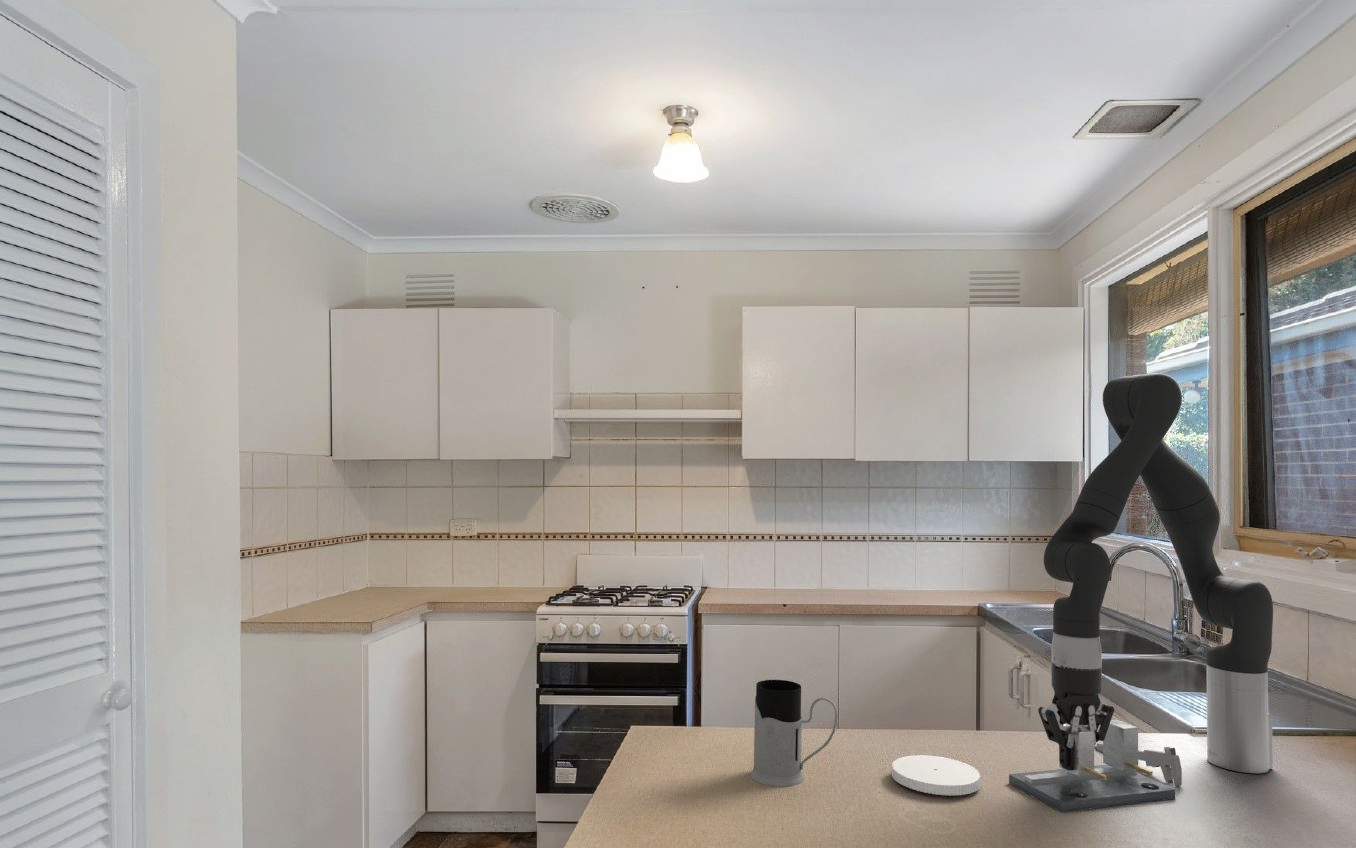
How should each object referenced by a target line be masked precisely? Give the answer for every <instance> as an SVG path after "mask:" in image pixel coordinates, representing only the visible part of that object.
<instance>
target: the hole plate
mask: <svg viewBox="0 0 1356 848" xmlns="http://www.w3.org/2000/svg"><path fill="white" fill-rule="evenodd" d="M1094 770H1095V771H1097V772H1099V773H1102V774H1104V775H1106V776H1107V780H1102V779H1100V778H1098V777H1096V776H1094V775H1089V776H1077V775H1075V774H1073V773H1071V772H1069V771H1067V770H1065V769H1062V768H1059V769H1058V768H1057V769H1050V770H1049V769H1047V770H1037V771H1027V772H1019V773H1017V772H1016V773H1009V774H1008V784H1010V786H1013V787H1015V788H1016V787H1017V788H1016V789H1018V790H1020V791H1022V790H1023V791H1022V792H1024V793H1026V794H1027V795H1029V794H1030V796H1031V797H1033V798H1034V799H1036V800H1039V801H1041V802H1042V803H1044V804H1046V805H1047V806H1049V807H1051V808H1053V809H1055V810H1057V811H1058V812H1060V813H1065V812H1066V811H1067V812H1073V811H1083V810H1084V809H1085V810H1091V809H1090V808H1093V809H1100V808H1099V807H1102V808H1109V807H1116V806H1117V807H1118V806H1126V805H1134V804H1137V805H1138V804H1144V803H1152V802H1161V801H1171V800H1176V789H1175V788H1173V787H1170V786H1168V785H1166V784H1164V783H1161V782H1160V781H1157V780H1155V779H1153V778H1150V777H1148V776H1145V775H1144V774H1140V773H1138V771H1128V772H1123V771H1120V770H1118V769H1116V768H1114V767H1111V766H1109V765H1107V764H1102V765H1101V764H1100V765H1094ZM1085 810H1084V811H1085Z"/></svg>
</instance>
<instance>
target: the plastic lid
mask: <svg viewBox="0 0 1356 848" xmlns="http://www.w3.org/2000/svg"><path fill="white" fill-rule="evenodd" d="M891 777H892V779H893V780H894V781H896V782H897V783H898V784H900V785H901V786H903V787H906V788H909V789H910V790H914V791H917V792H921V793H925V794H932V795H936V796H938V795H940V796H949V797H951V796H962V795H964V796H965V795H968V794H969V795H970V794H971V793H972V794H973V793H975V792H977V791H979V789H980V788H981V781H982V779H981V778H982V777H981V772H979V770H978V769H976V768H975V767H973V766H972V765H969V764H967V763H965V762H963V761H960V760H957V759H953V758H949V757H948V758H947V757H942V756H939V755H938V756H937V755H936V756H935V755H927V754H926V755H924V754H922V755H920V754H918V755H917V754H915V755H906V756H903V757H898V758H896V759H894V760H893V761H892V762H891Z"/></svg>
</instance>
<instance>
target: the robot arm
mask: <svg viewBox="0 0 1356 848" xmlns="http://www.w3.org/2000/svg"><path fill="white" fill-rule="evenodd" d="M1182 395H1183V394H1182V390H1181V387H1180V385H1179V384H1178V382H1177V381H1176V379H1175V378H1174V377H1172V376H1171V375H1169V374H1165V373H1160V372H1159V373H1144V374H1143V373H1142V374H1134V375H1133V374H1132V375H1125V376H1119V377H1116V378H1113V379H1111V380H1109V381H1108V382H1107V383H1106V385H1105V386H1104V389H1103V391H1102V404H1103V405H1102V406H1103V408H1104V413H1105V415H1106V417H1107V419H1108V421H1109V423H1110V425H1111V427H1112V428H1113V430H1114V431H1115V433H1116V435H1117V437H1118V438H1119V440H1120V442H1119V443H1118V445H1117V446H1115V448H1114V449H1113V450H1112V451H1111V452H1110V453H1109V454H1108V455H1107V456H1106V457H1105V458H1104V459H1103V460H1102V461H1100V463H1099V464H1098V465H1097V466H1096V467H1095V468H1094V469H1093V470H1092V472H1091V473H1090V474H1089V476H1088V477H1087V479H1086V480H1085V482H1084V484H1083V486H1082V489H1081V490H1080V493H1079V495H1078V498H1077V500H1076V502H1075V504H1074V507H1073V510H1072V512H1071V513H1070V515H1068V516H1067V518H1066V519H1065V520H1064V521H1063V522H1062V523H1061V525H1060V527H1058V529H1057V530H1056V532H1054V534H1053V535H1052V537H1051V538H1050V539H1049V541H1048V543H1047V544H1046V546H1045V549H1044V553H1043V566H1044V570H1045V571H1046V573H1047V574H1048V576H1049V577H1051V578H1053V579H1054V580H1056V581H1061V582H1066V583H1071V584H1072V586H1071V587H1072V588H1071V591H1070V594H1069V596H1063V597H1058V598H1057V599H1056V600H1054V603H1053V609H1052V611H1053V612H1052V614H1053V615H1052V619H1053V620H1052V622H1053V623H1052V629H1053V630H1052V631H1053V632H1052V641H1051V687H1052V689H1053V692H1054V695H1053V698H1052V700H1051V704H1049V705H1048V706H1046V707H1044V706H1040V707H1038V710H1037V711H1038V715H1039V717H1040V719H1041V723H1042V725H1043V728H1044V731H1045V734H1046V736H1047V740H1049V741H1051V742H1053V743H1055V744H1058V751H1059V752H1058V753H1059V756H1058V757H1059V759H1058V761H1059V762H1060V764H1061V766H1062V767H1063V768H1064V769H1066V770H1068V771H1071V770H1074V748H1073V744H1074V735H1075V734H1076V733H1077V731H1078V725H1079V726H1081V727H1084V728H1086V729H1089V730H1092V731H1094V745H1097V742H1103V741H1104V739H1105V736H1106V733H1107V730H1108V727H1109V725H1110V722H1111V720H1113V719H1112V718H1113V715H1114V712H1115V707H1113V706H1111V705H1109V704H1107V703H1104V702H1101V699H1100V696H1099V695H1100V694H1101V693H1102V691H1103V690H1102V689H1103V688H1102V687H1103V686H1102V682H1103V681H1102V680H1103V679H1102V674H1103V671H1102V668H1103V667H1102V663H1103V662H1102V660H1103V659H1102V653H1103V652H1102V645H1101V637H1100V636H1101V635H1100V634H1101V631H1100V623H1101V622H1100V617H1101V615H1100V613H1101V608H1102V606H1103V602H1104V599H1105V595H1106V592H1107V588H1108V584H1109V581H1110V577H1111V571H1112V570H1111V560H1110V558H1109V555H1108V553H1107V551H1106V550H1105V548H1104V547H1102V546H1101V545H1100V544H1097V543H1095V542H1094V541H1095V540H1096V539H1098V538H1103V537H1107V536H1110V535H1111V534H1113V533H1114V531H1115V530H1116V528H1117V525H1118V524H1119V521H1120V519H1121V517H1122V516H1121V515H1122V514H1123V511H1124V509H1125V506H1126V505H1127V502H1128V500H1129V497H1130V494H1131V493H1132V490H1133V489H1134V486H1135V484H1136V482H1137V481H1138V479H1139V477H1141V480H1142V482H1143V484H1144V486H1145V489H1146V490H1147V492H1148V495H1149V497H1150V499H1151V501H1152V505H1153V507H1154V509H1155V511H1156V512H1157V515H1158V517H1159V519H1160V520H1159V521H1160V522H1161V524H1162V526H1163V528H1164V529H1165V531H1166V533H1167V535H1168V538H1169V540H1170V542H1171V545H1172V547H1173V549H1174V552H1175V554H1176V556H1177V558H1178V560H1179V564H1180V566H1181V570H1182V572H1183V575H1184V578H1185V581H1186V582H1185V583H1187V584H1186V585H1187V588H1188V590H1189V593H1190V596H1191V600H1192V602H1193V604H1194V607H1195V609H1196V612H1197V614H1198V615H1199V616H1200V618H1201V619H1202V620H1203V621H1205V622H1206V623H1207V624H1209V625H1212V626H1216V627H1218V628H1219V627H1220V628H1224V629H1230V630H1232V631H1231V638H1230V641H1229V642H1228V643H1226V644H1224V645H1216V646H1211V647H1210V648H1208V649H1207V651H1206V658H1205V659H1206V733H1207V734H1206V740H1207V741H1206V745H1207V747H1206V748H1207V750H1206V753H1207V754H1206V755H1207V761H1208V762H1209V763H1211V764H1212V765H1214V766H1217V767H1218V768H1222V769H1226V770H1230V771H1235V772H1239V773H1245V774H1264V773H1267V772H1269V771H1270V769H1273V768H1274V766H1273V763H1274V760H1273V759H1274V757H1273V755H1274V754H1273V750H1274V749H1273V715H1272V714H1271V713H1270V712H1269V682H1268V681H1269V679H1268V678H1269V677H1268V675H1269V673H1268V667H1269V660H1270V658H1271V653H1272V648H1273V647H1272V644H1273V643H1272V642H1273V627H1274V626H1273V625H1274V624H1273V622H1274V619H1273V618H1274V605H1273V599H1272V595H1271V592H1270V590H1269V588H1268V587H1267V586H1266V585H1265V584H1264V583H1263V582H1259V581H1258V580H1253V579H1244V578H1237V577H1230V576H1225V574H1223V572H1222V571H1221V568H1220V567H1219V564H1218V563H1217V561H1216V558H1215V555H1214V549H1213V548H1214V544H1215V540H1216V537H1217V534H1218V530H1219V526H1220V521H1221V513H1220V510H1219V507H1218V505H1217V502H1216V500H1215V497H1214V495H1213V493H1212V490H1211V489H1210V486H1209V484H1208V482H1207V481H1206V479H1205V478H1204V477H1203V475H1202V474H1201V472H1199V471H1198V470H1197V468H1195V467H1193V466H1192V464H1191V463H1189V462H1188V461H1187V460H1186V459H1185V458H1183V457H1182V456H1181V455H1179V454H1178V453H1177V452H1176V451H1175V450H1174V449H1173V448H1172V447H1171V446H1170V445H1168V444H1167V442H1166V441H1165V440H1164V437H1165V436H1166V435H1167V433H1168V431H1169V430H1170V428H1171V427H1172V425H1173V424H1174V422H1175V420H1176V418H1177V417H1178V415H1179V412H1180V410H1181V408H1182V407H1181V406H1182V403H1183V402H1182V401H1183V400H1182ZM1066 724H1069V725H1070V727H1069V726H1067V725H1066ZM1098 729H1099V730H1098ZM1066 732H1067V735H1066ZM1065 735H1066V738H1065Z"/></svg>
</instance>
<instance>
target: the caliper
mask: <svg viewBox="0 0 1356 848" xmlns="http://www.w3.org/2000/svg"><path fill="white" fill-rule="evenodd" d="M1163 748H1164V751H1159V750H1153V749H1143V750H1140V749H1138V761H1143V762H1145V766H1146V767H1152V768H1160V769H1161V772H1162V775H1163V777H1164V781H1165V783H1166V784H1168V785H1170V784H1173V785H1174V787H1182V785H1183V776H1182V775H1183V772H1182V769H1183V768H1182V765H1181V760H1180V755H1178V754H1177V752H1176V748H1175V747H1170V746H1164V747H1163ZM1094 749H1096V750H1097V751H1100V752H1101V753H1103V742H1102V743H1101V742H1099V743H1097V742H1096V744H1095V745H1094Z"/></svg>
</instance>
